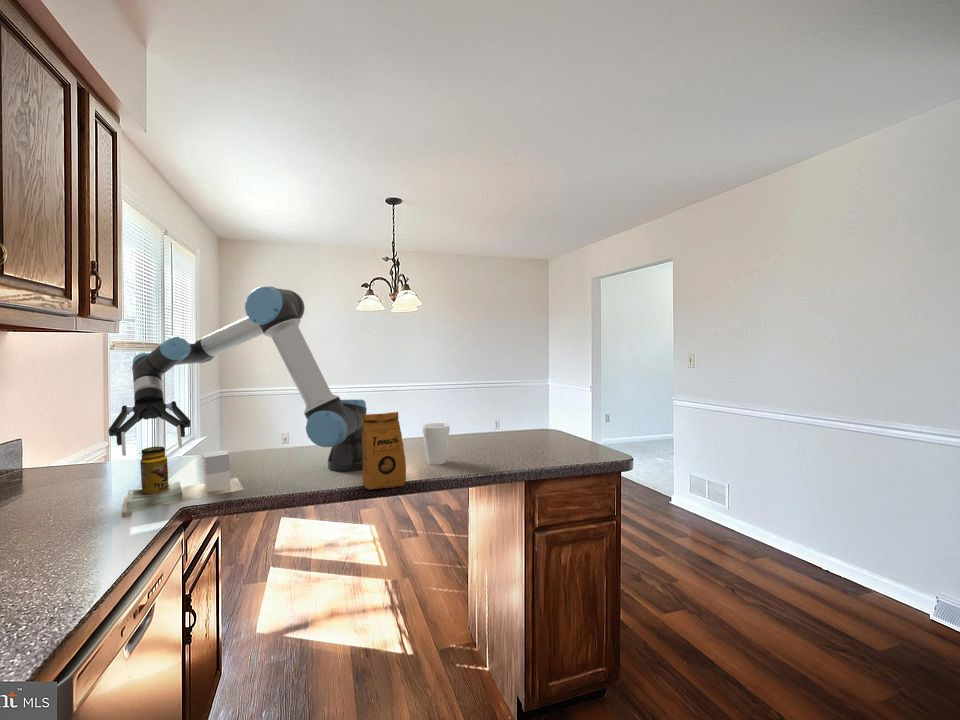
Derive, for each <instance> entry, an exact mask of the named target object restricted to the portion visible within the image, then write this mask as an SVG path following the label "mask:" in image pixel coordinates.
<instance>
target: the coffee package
mask: <svg viewBox="0 0 960 720" xmlns="http://www.w3.org/2000/svg"><path fill="white" fill-rule="evenodd" d="M362 423H363V438H362V445H363V469H362V484H363V486H364V488H365V489H368V490H379V489H380V490H381V489H391V488H396V487H404V486H405V483H406V481H407V464H406V463H407V462H406V455H405V449H404V443H403V435H402V430H401V425H400V421H399V412H398V411H395V412H387V413H386V412H385V413H372V414H370V413H366V415H363V417H362Z"/></svg>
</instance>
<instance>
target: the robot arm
mask: <svg viewBox="0 0 960 720" xmlns="http://www.w3.org/2000/svg"><path fill="white" fill-rule="evenodd" d="M305 309H306V308H305V302H304V300H303V298H302V297H301V296H300V294H298V293H297V292H295V291H293V290H289V289H283V288H278V287H277V288H276V287H275V286H272V285H271V286H269V285H268V286H259V287H256V288H254V289H252V290H251V291H250V292H249V294H248V295H247V298H246V300H245V303H244V311H245V315H246V317H243V318H242V319H239V320H237V321H235V322H233V323H230V324H228V325H226V326H224V327H222V328H220V329H218V330H217V329H216V330H215V331H214V332H211V333H208V334H207V335H205V336H203V337H201V338H198V339H196V340H194V341H187V340H186V339H184V338H183V337H180V336H178V335H173V336H171V337H168V338H167V339H166V340H164V341H163V342H162V343H161V344H159V345H158V346H157V347H156V348H155V349H153V350H152V351H151V352H150V351H149V352H148V351H147V352H146V351H145V352H142V353H139V354H136V355H135V356H134V357H133V359H132V366H131V370H132V380H133V396H134V397H133V398H134V400H133V401H134V405H133V406H130V407H129V406H127V405H122V406H121V411H120V412H119V414H118V416H117V417H116V418H115V420H114V421H113V422H112V424H111V426H110V427H109V429H108V435H109V437H115V438H116V445H117V446H121V454H122V457H124V456H125V457H126V456H127V449H126V448H127V447H126V433H127V432H128V431H129V430H130V429H131V428H133V427H134V426H135V425H136V424H137V423H139V422H140V421H142V420H145V421H146V420H150V419H157V418H160V419H161V420H164V421H166V422H167V423H169V424H170V425H172V426H174V427H175V428H176V433H177V434H176V436H177V443H178V445H177V446H178V449H180V448H181V449H182V447H183V441H182V438H185V437H186V431H185V430H186V429H185V428H190V427H191V422H192V421H191V419H190V418H189V417H188V416H187V415H186V414H185V412H183V411H182V410H181V409H180V408H179V407H178V405H177V402H176V401H175V400H172V401H171V402H169V403H165V400H164V389H163V380H162V376H163V375H164V374H165V373H167V372H168V371H169V370H171V369H172V368H173V367H174V366H177V365H191V364H204V363H208V362H211V361H212V360H213V359H214V358H215V357H216V356H217V355H220V354H222V353H225V352H227V351H228V350H230V349H233V348H236V347H237V346H240V345H243V343H246V342H249V341H251V340H253V339H255V338H257V337H260V336H262V335H264V336H265V337H269V338H271V339H272V341H273V343H274V345H275V347H276V349H277V351H278V353H279V356H281V357H280V358H281V359H282V361H283V363H284V365H285V367H286V369H287V370H288V373H289V375H290V377H291V379H292V381H293V383H294V385H295V388H296V389H297V391H298V393H299V395H300V397H301V399H302V400H303V403H304V405H305V408H304V409H305V410H304V412H303V414H304V417H305V418H306V425H305V432H306V434H307V437H308V439H309V440H310V441H311V442H312V443H313V444H315V445H316V446H318V447H321V448H331V449H330V451H329V454H328V458H327V468H328V469H329V468H330V469H329V470H331V469H333V470H332V471H335V470H339V471H338V472H351V471H358V470H363V445H362V438H363V423H362V417H363V415H367V410H368V409H367V404H366V401H365V400H364V399H357V398H356V399H354V398H353V399H341V397H340V396H338V395H336V394H334V393H332V391H331V389H330V386H329V385H328V383H327V380H326V379H325V377H324V375H323V373H322V371H321V370H320V367H319V365H318V363H317V361H316V359H315V358H314V355H313V353H312V352H311V349H310V348H309V345H308V343H307V341H306V340H305V339H306V338H305V337H304V335H303V333H302V332H301V331H302V330H301V329H300V327H299V326H300V323H301V319H302V318H303V316H304V313H305ZM166 409H168V410H169V411H171V412H172V413H173V414H174V415H173V414H171V413H169V412H168V411H167V410H166ZM132 412H133V415H132V416H131V417H130V418H128V419H127V417H128V416H129V415H130V414H131V413H132ZM175 416H176V417H175ZM126 419H127V421H125V420H126Z"/></svg>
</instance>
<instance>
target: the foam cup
mask: <svg viewBox="0 0 960 720" xmlns="http://www.w3.org/2000/svg"><path fill="white" fill-rule="evenodd" d="M450 429H451V428H450V424H449V423H445V422H429V423H425V424H422V435H423V440H424V441H423V442H424V447H425V452H426V460H427V463H428V464H429V465H435V466H436V465H443V464H445V463H447V453H448V443H449V435H450Z"/></svg>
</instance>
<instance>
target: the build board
mask: <svg viewBox="0 0 960 720" xmlns="http://www.w3.org/2000/svg"><path fill="white" fill-rule="evenodd" d="M168 483H169V485H170V492H168V493H163V494H157V495H150V496H144V497H138V498H132V495H133V490H141V489H142V487H139V488H133V489H128V490H127V496H124V497H123V503H122V511H121V513H122V515H121V516H122V518H123V517H128V516H132V515H133V511H137V510H142V509H148V508H153V507H158V506H163V505H169V504H175V503H180V502H186V501H190V500H196V499H203V498H208V497H212V496H217V495H221V494H228V493H232V492H237V491H238V492H239V491H243V490H244V491H245V488H244V487H243V485H242V483H241V482H240V481H239V479H238V478H237V477H233V478H230V486H231V488H227V489H222V490H216V491H211V492H207V491H206V489H205V484H204V482H203V483H198V484H192V485H191V484H190V485H187V486H181V483H180V481H177V482H176V481H175V482H171V483H170V482H168Z"/></svg>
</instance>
